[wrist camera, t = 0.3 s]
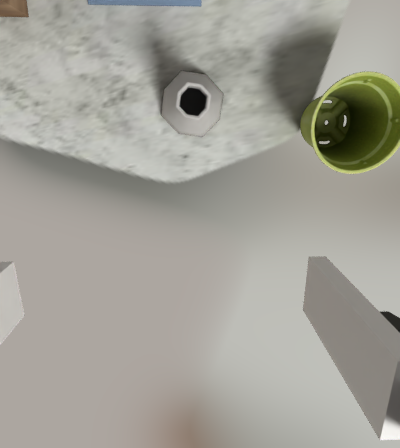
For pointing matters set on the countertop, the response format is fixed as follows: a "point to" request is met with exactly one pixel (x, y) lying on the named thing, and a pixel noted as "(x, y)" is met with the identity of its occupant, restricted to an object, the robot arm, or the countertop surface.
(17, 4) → the bridge
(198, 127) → the flask
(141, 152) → the countertop surface
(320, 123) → the plant pot
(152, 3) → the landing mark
